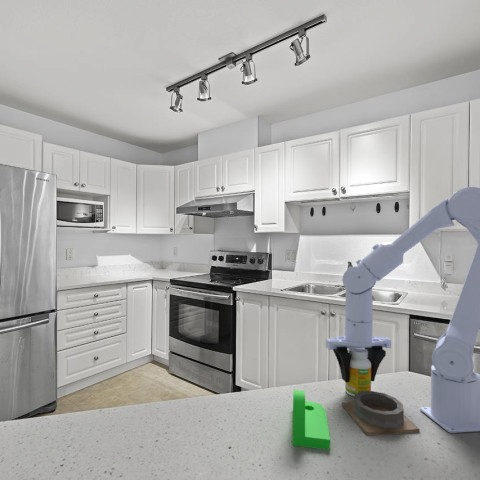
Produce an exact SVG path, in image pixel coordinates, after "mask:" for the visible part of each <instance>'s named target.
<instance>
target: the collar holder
mask: <svg viewBox="0 0 480 480" xmlns="http://www.w3.org/2000/svg"><path fill="white" fill-rule="evenodd" d="M353 400H354V401H353V402H351V401H350V402H348V401H347V402H342V403H341V406H342V407H343V409H344V410H345V412H346V413H347V414H348V415H349V416H350V417H351V418H352V420H353V421H354V422H355V423H356V424H357V426H358V427H359V428H360V429H361V430H362V432H363V433H364V434H365V435H366V436H377V435H378V436H380V435H394V434H397V435H398V434H411V433H412V434H413V433H420V430H421V429H420V428H419V427H418V426H417V425H416V423H413V421H412V420H410V419H409V418H408V417H407V416H406V415H405V414H404V412H405V411H404V409H405V408H404V404H403V403H402V402H401V401H400V400H398V398H396V397H394V396H391V395H389V394H387V393H383V392H378V391H373V390H371V391H363V392H360V393H358V394H355V397H354V398H353Z"/></svg>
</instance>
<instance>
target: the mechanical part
mask: <svg viewBox="0 0 480 480" xmlns="http://www.w3.org/2000/svg"><path fill="white" fill-rule="evenodd" d="M292 393H293V394H292V446H295V447H305V448H313V449H320V450H328V451H330V450H331V438H330V430H329V424H328V418H327V413H326V409H325V407H324V406H323V405H321V404H320V403H317V402H314V401H310V400H306V391H305V390H299V389H298V390H297V389H293V392H292Z"/></svg>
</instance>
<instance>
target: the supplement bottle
mask: <svg viewBox="0 0 480 480" xmlns="http://www.w3.org/2000/svg"><path fill="white" fill-rule="evenodd" d="M348 352H349V353H350V354H351V355H352V357H351V361H350V368H349V382H345V381H344V382H345V384H344V385H345V392H346V393H347V395H349V396H351V397H354V398H355V394H358V393H360V392H363V391H372V381H371V362H370V361H369V360H368V359H367V358H368V351H367V350H366V349H365V348H348Z"/></svg>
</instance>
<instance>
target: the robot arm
mask: <svg viewBox="0 0 480 480" xmlns="http://www.w3.org/2000/svg"><path fill="white" fill-rule="evenodd" d="M453 221H456V222H457V223H459V224H460V225H462V226H463V227H465V229H468V232H469V234H470V235H471V236H472V237H473V238H474V240H475V241H476V243H477V246H476V249H475V252H474V254H473V258H472V260H471V262H470V266H469V268H468V271H467V274H466V276H465V279H464V282H463V285H462V288H461V291H460V294H459V296H458V299H457V301H456V305H455V307H454V309H453V310H454V311H453V313H452V315H451V319H450V320H449V324H448V326H447V328H446V331H445V333H443V334H442V335H441V336H440V337H439V338H437V341H436V343H435V348H434V350H433V351H432V354H431V361H432V363H431V364H432V365H431V366H430V374H431V375H430V406H420V408H419V410H420V411H421V412H422V413H424V414H425V416H427V417H428V418H429V419H431V420H432V421H433V422H434V423H436V424H438V425H439V427H442V429H444V430H445V431H446V432H447V433H450V434H453V433H454V434H457V433H468V432H469V433H471V432H472V433H473V432H480V374H479V373H477V372H474V366H475V365H474V360H473V358H474V350H475V347H476V346H475V345H476V342H477V337H478V334H479V331H480V187H476V186H467V187H463V188H461V189H460V188H459V190H457V191H455V192H454V193H453V194H452V195H451V196H450V198H448V197H447V198H446V199H444V200H442V201H440V202H439V203H438V204H436V205H435V206H433V207H432V208H431V209H430V210H428V211H427V212H426V213H425V214H424V215H422V217H420V218H419V219H418V220H417V221H416V222H415V223H414V224H412V225H411V226H410V227H409V228H408V229H406V230H405V231H404V232H403V233H402V234H400V235H399V236H398V237H397V238H396V239H395V240H393V242H385V241H384V242H382V243H381V244H378V243H377V244H375V245H373V246H372V248H371V249H372V251H371V252H370V253H369V254H367V255H366V256H364V257H363V258H362V259H358V260H357V261H356V262H355V263H356V265H357V266H356V265H355V266H350V267H347V270H346V271H344V273H343V275H342V285H343V286H344V288H345V306H344V307H345V308H344V309H345V315H344V317H345V319H344V320H345V324H344V325H345V326H344V329H345V330H344V333H345V334H344V335H343V336H337V337H331V338H325V348H327V349H328V351H333V354H334V355H335V357H336V360H337V363H338V366H339V369H340V374H341V380H342V381H344V382H349V368H350V361H351V357H352V355H351V354H350V353H349V348H364V349H366V350H367V351H368V358H367V359H368V360H369V361H370V362H371V382H375V379H376V375H377V372H378V370H379V367H380V365H381V363H382V361H383V360H384V358H385V357H386V356H387V352H386V350H385V349H392V339H390V338H389V337H387V336H373V306H374V305H373V288H374V287H375V285H376V283H377V282H379V281H382V279H384V278H385V277H386V276H387V275H389V274H391V272H393V271H394V270H395V269H396V268H398V267H399V266H401V265H402V264H404V255H405V253H407V252H408V251H409V250H411V249H412V248H414V247H415V246H416V245H418V244H419V243H420V242H422V241H423V240H425V239H426V238H427V237H429V236H430V235H432V234H434V232H436V231H437V230H439V229H444V228H449V227H450V228H451V227H455V224H454V222H453ZM384 348H385V349H384Z"/></svg>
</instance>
